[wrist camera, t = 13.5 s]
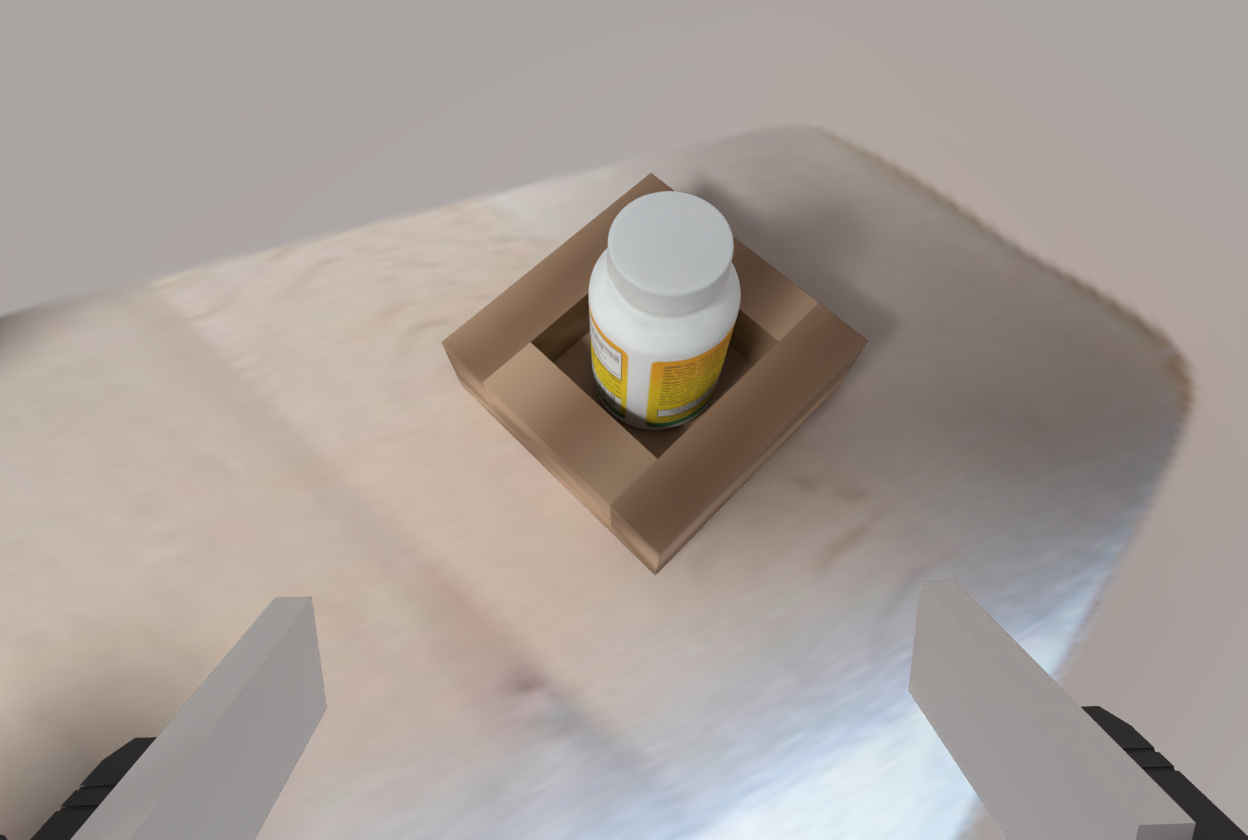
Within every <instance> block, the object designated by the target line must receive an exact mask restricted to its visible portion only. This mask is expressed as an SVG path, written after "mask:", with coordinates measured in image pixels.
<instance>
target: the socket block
mask: <svg viewBox="0 0 1248 840" xmlns="http://www.w3.org/2000/svg"><path fill="white" fill-rule="evenodd" d="M663 191H674V190H672V189H671V188H670V187H669V186H667V185H666V184H665V183H663V182H662V181H661V180H659V179H658V178H657V177H656V176H654V175H653V174H652V173H650V174H649V175H648V176H647V177H645V178H644V179H643V180H642V181H640V182H639V183H638V184H637V185H635V186H634V187H633V188H632V189H630V190H629V191H628V192H627V193H626V194H624V195H623V196H622V197H621V198H619V199H618V200H617V201H616V202H614V203H613V204H612V205H611V206H609V207H608V208H607V209H606V210H604V211H603V212H602V213H601V214H600V215H598V216H597V217H596V218H595V219H593V220H592V221H591V222H590V223H588V224H587V225H586V226H585V227H583V228H582V229H581V230H580V231H579V232H577V233H576V234H575V235H574V236H572V237H571V238H570V239H569V240H567V241H566V242H565V243H564V244H562V245H561V246H560V247H559V248H558V249H556V250H555V251H554V252H553V253H551V254H550V255H549V256H548V257H546V258H545V259H544V260H543V261H541V262H540V263H539V264H538V265H537V266H535V267H534V268H533V269H532V270H530V271H529V272H528V273H527V274H525V275H524V276H523V277H522V278H520V279H519V280H518V281H517V282H516V283H514V284H513V285H512V286H511V287H509V288H508V289H507V290H506V291H504V292H503V293H502V294H501V295H499V296H498V297H497V298H496V299H494V300H493V301H492V302H491V303H490V304H488V305H487V306H486V307H485V308H483V309H482V310H481V311H480V312H478V313H477V314H476V315H475V316H473V317H472V318H471V319H470V320H469V321H467V322H466V323H465V324H464V325H462V326H461V327H460V328H459V329H457V330H456V331H455V332H454V333H452V334H451V335H450V336H449V337H448V338H446V339H445V340H444V341H443V342H441V343H442V345H443V347H444V349H445V351H446V353H447V355H448V357H449V359H450V361H451V364H452V366H453V368H454V370H455V372H456V374H457V376H458V378H459V380H460V382H461V384H462V386H463V387H464V388H465V389H466V390H467V391H468V392H469V393H470V394H471V395H472V396H473V397H474V398H475V399H476V400H477V401H478V402H479V403H480V404H481V405H482V406H483V407H484V408H485V409H486V410H487V411H488V412H489V413H490V414H491V415H492V416H493V417H495V418H496V419H497V420H498V421H499V422H500V423H501V424H502V425H503V426H504V427H505V428H506V429H507V430H508V431H509V432H510V433H511V434H512V435H513V436H514V437H515V438H516V439H517V440H518V441H519V442H520V443H521V444H522V445H523V446H524V447H525V448H526V449H527V450H528V451H529V452H530V453H531V454H532V455H533V456H534V457H535V458H536V459H537V460H538V461H539V462H540V463H541V464H542V465H543V466H544V467H545V468H546V469H548V470H549V471H550V472H551V473H552V474H553V475H554V476H555V477H556V478H557V479H558V480H559V481H560V482H561V483H562V484H563V485H564V486H565V487H566V488H567V489H568V490H569V491H570V492H571V493H572V494H573V495H574V496H575V497H576V498H577V499H578V500H579V501H580V502H581V503H582V504H583V505H584V506H585V507H586V508H587V509H588V510H589V511H590V512H591V513H592V514H593V515H594V516H595V517H596V518H597V519H598V520H600V521H601V522H602V523H603V524H604V525H605V526H606V527H607V528H608V529H609V530H610V531H611V532H612V533H613V534H614V535H615V536H616V537H617V538H618V539H619V540H620V541H621V542H622V543H623V544H624V545H625V546H626V547H627V548H628V549H629V550H630V551H631V552H632V553H633V554H634V555H635V556H636V557H637V558H638V559H639V560H640V561H641V562H642V563H643V564H644V565H645V566H646V567H647V568H648V569H649V570H650V571H652V572H653V573H654V574H655V575H656V574H657V573H658V572H659V571H660V570H661V569H662V568H663V567H664V566H665V565H666V564H667V562H668V561H669V560H670V559H671V558H672V557H673V556H674V555H675V554H676V553H677V552H678V551H679V550H680V549H681V548H682V547H683V546H684V545H685V544H686V543H687V542H688V541H689V540H690V539H691V538H692V537H693V536H694V535H695V534H696V533H697V532H698V531H699V530H700V529H701V528H702V526H703V525H704V524H705V523H706V522H707V521H708V520H709V519H710V518H711V517H712V516H713V515H714V514H715V513H716V512H717V511H718V510H719V509H720V508H721V507H722V506H723V505H724V504H725V503H726V502H727V501H728V500H729V499H730V498H731V497H732V496H733V495H734V494H735V493H736V491H737V490H738V489H739V488H740V487H741V486H742V485H743V484H744V483H745V482H746V481H747V480H748V479H749V478H750V477H751V476H752V475H753V474H754V473H755V472H756V471H757V470H758V469H759V468H760V467H761V466H762V465H763V464H764V463H765V462H766V461H767V460H768V459H769V458H770V456H771V455H772V454H773V453H774V452H775V451H776V450H777V449H778V448H779V447H780V446H781V445H782V444H783V443H784V442H785V441H786V440H787V439H788V438H789V437H790V436H791V435H792V434H793V433H794V432H795V431H796V430H797V429H798V428H799V427H800V426H801V425H802V424H803V423H804V422H805V420H806V419H807V418H808V417H809V416H810V415H811V414H812V413H813V412H814V411H815V410H816V409H817V408H818V407H819V406H820V405H821V404H822V403H823V402H824V401H825V400H826V399H827V398H828V397H829V396H830V395H831V394H832V393H833V392H834V391H835V390H836V389H837V388H838V387H839V385H840V384H841V383H842V381H843V380H844V378H845V377H846V375H847V373H848V372H849V370H850V369H851V367H852V366H853V364H854V362H855V361H856V359H857V358H858V356H859V354H860V353H861V351H862V350H863V348H864V347H865V345H866V343H867V342H868V340H866V339H865V338H864V337H862V336H861V335H860V334H859V333H857V332H856V331H855V330H853V329H852V328H851V327H849V326H848V325H847V324H846V323H844V322H843V321H842V320H840V319H839V318H838V317H837V316H835V315H834V314H833V313H831V312H830V311H829V310H828V309H826V308H825V307H824V306H822V305H821V304H820V303H818V302H817V301H816V300H815V299H813V298H812V297H811V296H809V295H808V294H807V293H806V292H804V291H803V290H802V289H800V288H799V287H798V286H796V285H795V284H794V283H793V282H791V281H790V280H789V279H787V278H786V277H785V276H784V275H782V274H781V273H780V272H778V271H777V270H776V269H775V268H773V267H772V266H771V265H769V264H768V263H767V262H765V261H764V260H763V259H762V258H760V257H759V256H758V255H756V254H755V253H754V252H753V251H751V250H750V249H749V248H747V247H746V246H745V245H743V244H742V243H741V242H740V241H738V240H737V239H736V238H734V237H733V243H734V250H733V257H732V263H733V265H734V267H735V270H736V272H737V275H738V279H739V283H740V290H741V299H740V307H739V311H738V315H737V318H736V322H735V325H734V328H733V332H732V335H731V338H730V342H729V345H728V349H727V352H726V356H725V359H724V363H723V366H722V370H721V373H720V376H719V379H718V383H717V386H716V389H715V392H714V394H713V397H712V399H711V400H710V402H709V403H708V405H707V406H706V408H705V409H704V410H703V411H702V412H701V413H700V414H699V415H698V416H696V417H695V418H693V419H692V420H690V421H689V422H687V423H684V424H682V425H680V426H677V427H674V428H669V429H664V430H658V431H655V430H645V429H640V428H636V427H633V426H631V425H628V424H626V423H624V422H622V421H621V420H619V419H618V418H616V417H615V416H613V415H612V414H611V413H610V412H609V411H608V410H607V408H606V407H605V406H604V405H603V403H602V402H601V400H600V398H599V396H598V394H597V392H596V389H595V386H594V381H593V373H592V356H591V335H590V318H589V294H588V292H589V282H590V278H591V274H592V271H593V269H594V266H595V264H596V262H597V261H598V259H599V257H600V256H601V255H602V253H603V252H604V251H605V250H606V249H607V248H608V235H609V231H610V228H611V225H612V223H613V221H614V219H615V218H616V216H617V215H618V214H619V212H620V211H621V210H622V209H623V208H624V207H625V206H627V205H628V204H629V203H631V202H632V201H634V200H635V199H637V198H639V197H642V196H644V195H647V194H652V193H656V192H663Z"/></svg>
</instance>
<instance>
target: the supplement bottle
mask: <svg viewBox="0 0 1248 840" xmlns="http://www.w3.org/2000/svg"><path fill="white" fill-rule="evenodd" d="M733 250H734V243H733V236H732V232H731V229H730V226H729V224H728V222H727V221H726V219H725V217H724V216H723V215H722V214H721V213H720V212H719V211H718V210H717V209H716V208H715V207H714V206H713V205H712V204H710V203H709V202H707V201H705V200H703V199H702V198H700V197H697V196H694V195H691V194H688V193H683V192H676V191H663V192H656V193H652V194H647V195H644V196H642V197H639V198H637V199H635V200H634V201H632V202H631V203H629V204H628V205H627V206H625V207H624V208H623V209H622V210H621V211H620V212H619V214H618V215H617V216H616V218H615V219H614V221H613V223H612V225H611V228H610V231H609V235H608V248H607V249H606V250H605V251H604V252H603V253H602V255H601V256H600V257H599V259H598V261H597V262H596V264H595V266H594V269H593V271H592V274H591V278H590V282H589V292H588V294H589V318H590V335H591V356H592V373H593V381H594V386H595V389H596V392H597V394H598V396H599V398H600V400H601V402H602V403H603V405H604V406H605V407H606V408H607V410H608V411H609V412H610V413H611V414H612V415H613V416H615V417H616V418H618V419H619V420H621V421H622V422H624V423H626V424H628V425H631V426H633V427H636V428H640V429H645V430H655V431H658V430H664V429H669V428H674V427H677V426H680V425H682V424H684V423H687V422H689V421H690V420H692V419H693V418H695V417H696V416H698V415H699V414H700V413H701V412H702V411H703V410H704V409H705V408H706V406H707V405H708V403H709V402H710V400H711V399H712V397H713V394H714V392H715V389H716V386H717V383H718V379H719V376H720V373H721V370H722V366H723V363H724V359H725V356H726V352H727V349H728V345H729V342H730V338H731V335H732V332H733V328H734V325H735V322H736V318H737V315H738V311H739V307H740V299H741V290H740V283H739V279H738V275H737V272H736V270H735V267H734V265H733V263H732V257H733Z"/></svg>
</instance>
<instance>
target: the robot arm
mask: <svg viewBox="0 0 1248 840" xmlns="http://www.w3.org/2000/svg"><path fill="white" fill-rule="evenodd" d="M909 692H910V694H911V695H912V697H913V698H914V700H915V701H916V703H917V704H918V706H919V707H920V709H921V710H922V712H923V713H924V715H925V716H926V718H927V719H928V721H929V722H930V724H931V725H932V727H933V728H934V730H935V732H936V733H937V735H938V736H939V738H940V739H941V741H942V742H943V744H944V745H945V747H946V748H947V750H948V751H949V753H950V754H951V756H952V757H953V759H954V760H955V762H956V763H957V765H958V766H959V768H960V769H961V771H962V772H963V774H964V775H965V777H966V778H967V780H968V781H969V783H970V784H971V786H972V787H973V789H974V790H975V792H976V793H977V795H978V796H979V798H980V799H981V801H982V802H983V804H984V805H985V807H986V808H987V810H988V811H989V813H990V814H991V816H992V817H993V819H994V820H995V822H996V823H997V825H998V826H999V828H1000V829H1001V831H1002V832H1003V834H1004V835H1005V837H1006V839H1007V840H1248V836H1247V835H1246V834H1245V833H1244V832H1243V831H1242V830H1241V829H1240V828H1239V827H1237V826H1236V825H1235V824H1234V823H1233V822H1232V821H1231V820H1230V819H1229V818H1228V817H1227V816H1226V815H1225V814H1224V813H1223V812H1222V811H1221V810H1220V809H1218V808H1217V807H1216V806H1215V805H1214V804H1213V803H1212V802H1211V801H1210V800H1209V799H1208V798H1207V797H1206V796H1205V795H1204V794H1202V792H1201V791H1199V790H1198V789H1197V788H1196V787H1195V786H1194V785H1193V784H1192V783H1191V782H1190V781H1189V780H1188V779H1187V778H1186V777H1185V776H1184V775H1183V774H1182V773H1180V772H1179V771H1175V770H1174V766H1173V765H1172V764H1171V763H1170V762H1169V761H1168V760H1167V759H1166V758H1164V756H1163V755H1161V754H1160V753H1159V752H1155V750H1154V747H1153V746H1152V745H1151V744H1150V743H1149V742H1148V741H1147V740H1146V739H1144V738H1143V737H1142V736H1141V735H1140V734H1139V733H1138V732H1137V731H1136V730H1135V729H1134V728H1133V727H1132V726H1131V725H1129V724H1128V723H1126V722H1124V721H1123V720H1121V719H1119V718H1117V717H1116V716H1114V715H1113V714H1111V713H1109V712H1108V711H1106V710H1104V709H1102V708H1101V707H1099V706H1092V707H1090V706H1089V707H1080V706H1079V705H1078V704H1077V703H1076V702H1075V701H1074V700H1073V699H1072V698H1071V697H1070V696H1069V695H1068V694H1067V693H1066V692H1065V691H1064V690H1063V689H1062V688H1061V687H1060V686H1059V685H1058V684H1057V683H1056V682H1055V681H1054V680H1053V679H1052V678H1051V677H1050V676H1049V675H1048V674H1047V673H1046V672H1045V671H1044V670H1043V669H1042V668H1041V667H1040V666H1039V665H1038V664H1037V663H1036V662H1035V661H1034V660H1033V659H1032V658H1031V657H1030V656H1029V655H1028V654H1027V653H1026V652H1025V651H1024V650H1023V649H1022V648H1021V647H1020V646H1019V644H1018V643H1017V642H1016V641H1015V640H1014V639H1013V638H1012V637H1011V636H1010V635H1009V634H1008V633H1007V632H1006V631H1005V630H1004V629H1003V628H1002V627H1001V626H1000V625H999V624H998V623H997V622H996V621H995V620H994V619H993V618H992V617H991V616H990V615H989V614H988V613H987V612H986V611H985V610H984V609H983V608H982V607H981V606H980V605H979V604H978V603H977V602H976V601H975V600H974V599H973V598H972V597H971V596H970V595H969V594H968V593H967V592H966V591H965V590H964V589H963V588H962V587H961V586H960V585H959V584H958V583H957V582H956V581H931V582H921V584H920V593H919V602H918V611H917V620H916V629H915V638H914V647H913V656H912V665H911V674H910V683H909ZM326 709H327V707H326V699H325V692H324V684H323V677H322V669H321V662H320V654H319V647H318V640H317V632H316V625H315V617H314V610H313V602H312V597H282V598H274V600H273V601H272V602H271V603H270V604H269V605H268V607H267V608H266V609H265V610H264V611H263V613H262V614H261V615H260V616H259V617H258V618H257V620H256V621H255V622H254V623H253V624H252V626H251V627H250V628H249V629H248V630H247V631H246V633H245V634H244V635H243V636H242V637H241V639H240V640H239V641H238V642H237V643H236V644H235V646H234V647H233V648H232V649H231V650H230V652H229V653H228V654H227V655H226V656H225V657H224V659H223V660H222V661H221V662H220V663H219V665H218V666H217V667H216V668H215V669H214V670H213V672H212V673H211V674H210V675H209V676H208V678H207V679H206V680H205V681H204V682H203V683H202V685H201V686H200V687H199V688H198V689H197V691H196V692H195V693H194V694H193V695H192V696H191V698H190V699H189V700H188V701H187V702H186V704H185V705H184V706H183V707H182V708H181V709H180V711H179V712H178V713H177V714H176V715H175V717H174V718H173V719H172V720H171V721H170V722H169V724H168V725H167V726H166V727H165V728H164V730H163V731H162V732H161V733H160V734H159V735H158V737H152V738H134V739H133V740H131V741H130V742H128V743H127V744H126V745H124V746H123V747H121V748H120V749H118V750H117V751H115V752H114V753H112V754H111V755H110V756H108V757H107V758H105V759H104V760H102V762H101V763H100V764H99V765H98V766H97V767H96V768H95V769H94V770H93V771H92V773H91V774H90V775H89V776H88V777H87V778H86V779H85V780H84V781H83V782H82V784H81V785H80V789H79V790H75V791H74V792H73V793H72V795H71V796H70V797H69V798H68V799H67V800H66V801H65V802H64V803H63V804H62V806H61V810H60V811H56V812H55V813H54V814H53V815H52V817H51V818H50V819H49V820H48V821H47V822H46V823H45V824H44V825H43V826H42V827H41V829H40V830H39V831H38V832H37V833H36V834H35V835H34V836H33V837H32V838H31V840H255V838H256V836H257V834H258V833H259V831H260V829H261V827H262V825H263V823H264V822H265V820H266V818H267V816H268V814H269V812H270V811H271V809H272V807H273V805H274V803H275V802H276V800H277V798H278V796H279V794H280V792H281V791H282V789H283V787H284V785H285V783H286V782H287V780H288V778H289V776H290V774H291V772H292V771H293V769H294V767H295V765H296V763H297V762H298V760H299V758H300V756H301V754H302V752H303V751H304V749H305V747H306V745H307V743H308V741H309V740H310V738H311V736H312V734H313V732H314V731H315V729H316V727H317V725H318V723H319V721H320V720H321V718H322V716H323V714H324V712H325V711H326ZM0 840H7V839H6V837H5V836H4V835H0Z"/></svg>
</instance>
